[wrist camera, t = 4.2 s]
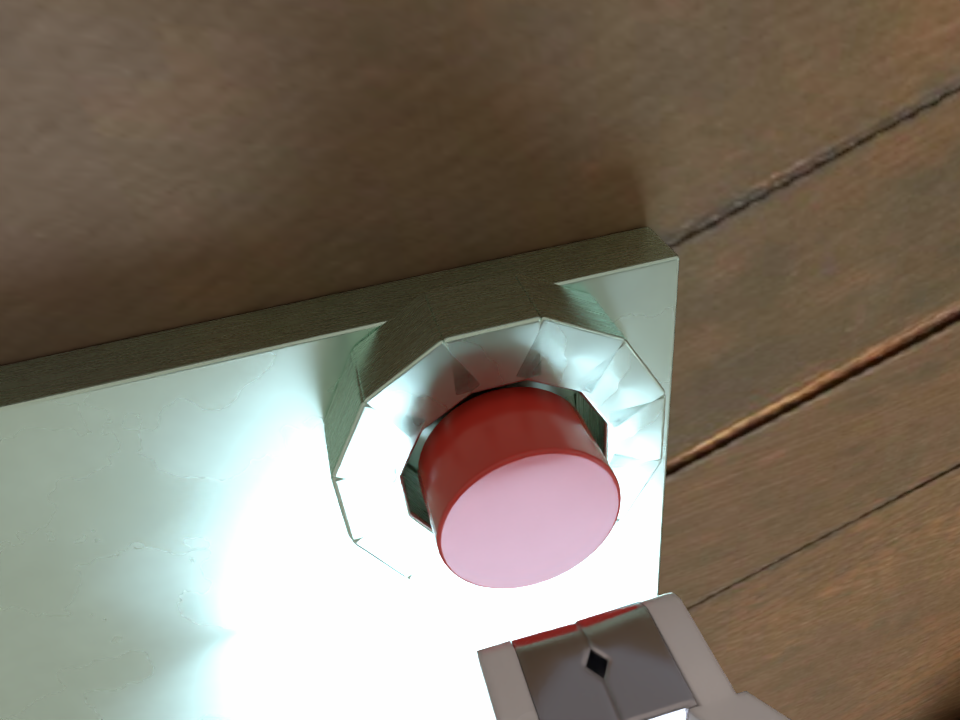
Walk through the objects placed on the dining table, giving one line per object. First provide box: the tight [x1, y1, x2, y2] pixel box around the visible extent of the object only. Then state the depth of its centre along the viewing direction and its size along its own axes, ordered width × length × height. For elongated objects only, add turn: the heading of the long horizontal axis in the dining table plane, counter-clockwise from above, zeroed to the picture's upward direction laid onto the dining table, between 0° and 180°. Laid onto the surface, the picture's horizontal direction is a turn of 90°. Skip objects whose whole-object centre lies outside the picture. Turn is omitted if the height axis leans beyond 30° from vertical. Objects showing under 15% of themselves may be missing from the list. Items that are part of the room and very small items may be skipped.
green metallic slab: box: [0, 227, 679, 720], centre depth 16 cm, size 20×14×3 cm
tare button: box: [418, 386, 621, 589], centre depth 13 cm, size 3×3×2 cm
